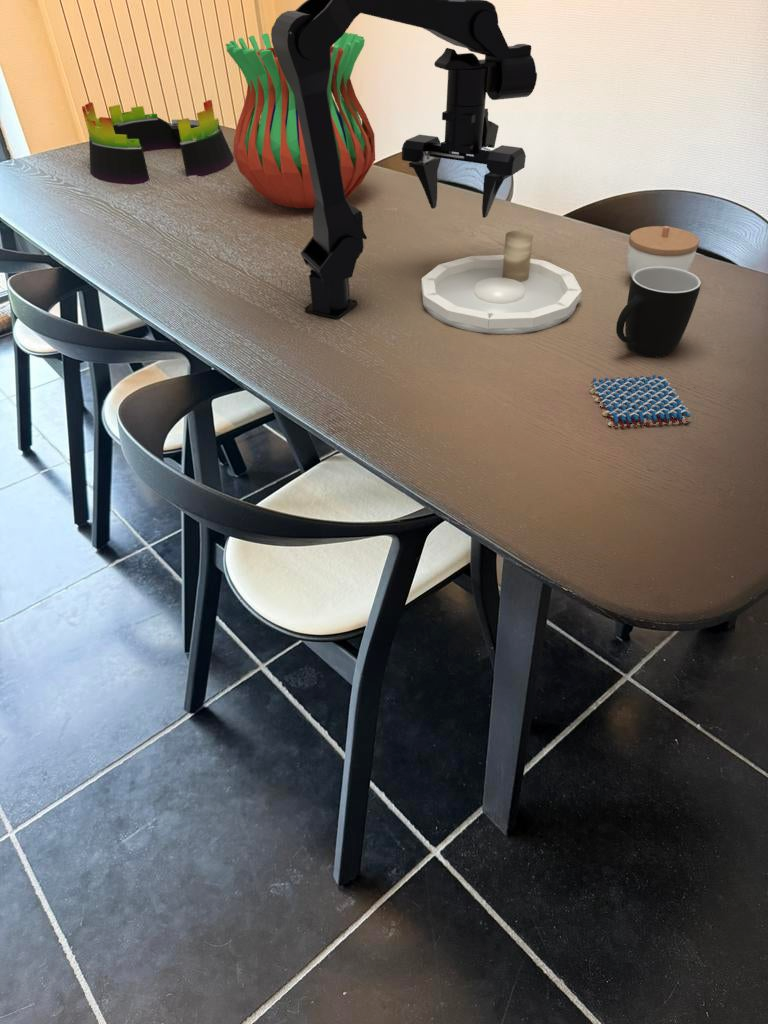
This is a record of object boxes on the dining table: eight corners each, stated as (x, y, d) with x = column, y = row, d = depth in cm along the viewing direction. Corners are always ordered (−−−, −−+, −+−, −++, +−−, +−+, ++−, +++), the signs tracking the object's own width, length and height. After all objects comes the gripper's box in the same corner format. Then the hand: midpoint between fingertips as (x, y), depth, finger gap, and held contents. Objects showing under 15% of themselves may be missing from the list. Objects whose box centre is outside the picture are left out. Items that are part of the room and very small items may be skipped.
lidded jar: (642, 301, 114) (655, 242, 108) (608, 276, 122) (619, 220, 116) (700, 291, 116) (716, 234, 110) (664, 267, 124) (677, 212, 118)
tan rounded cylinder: (522, 284, 118) (527, 241, 113) (498, 279, 120) (501, 237, 115) (532, 274, 121) (536, 233, 116) (507, 270, 122) (511, 229, 118)
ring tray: (546, 347, 103) (548, 331, 101) (395, 314, 113) (395, 299, 111) (596, 284, 119) (598, 269, 118) (460, 260, 129) (461, 246, 127)
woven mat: (661, 384, 95) (664, 371, 94) (692, 428, 87) (696, 414, 86) (584, 389, 95) (587, 375, 94) (608, 433, 87) (611, 419, 86)
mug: (649, 327, 107) (664, 261, 100) (696, 351, 101) (716, 282, 94) (589, 348, 103) (601, 280, 96) (635, 374, 97) (651, 303, 90)
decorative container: (263, 156, 189) (254, 91, 179) (161, 194, 165) (146, 122, 156) (164, 141, 204) (152, 81, 194) (59, 173, 181) (39, 107, 171)
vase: (400, 188, 163) (398, 31, 143) (332, 230, 143) (320, 55, 123) (290, 174, 174) (275, 27, 155) (214, 211, 154) (185, 47, 135)
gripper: (545, 99, 106) (531, 207, 116) (434, 88, 114) (430, 191, 124) (516, 113, 99) (504, 227, 109) (400, 100, 106) (399, 208, 116)
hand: (458, 212), depth 115 cm, fingers open, 9 cm apart
